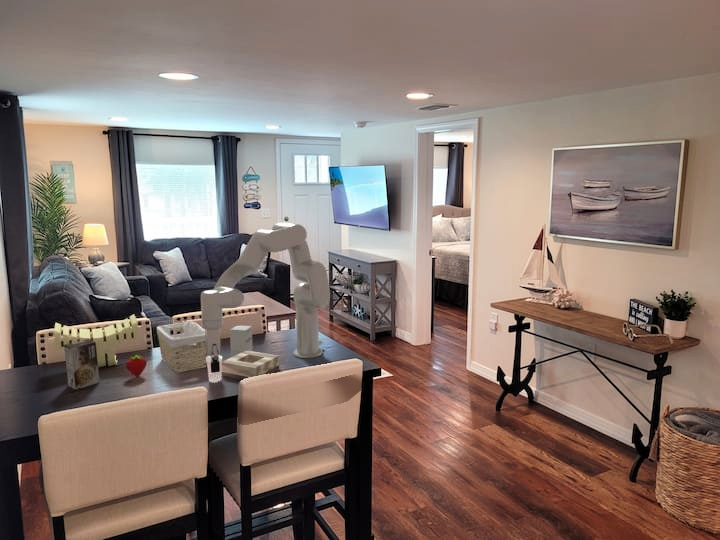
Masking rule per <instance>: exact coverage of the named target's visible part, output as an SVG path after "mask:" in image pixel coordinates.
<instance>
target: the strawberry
mask: <svg viewBox="0 0 720 540" xmlns="http://www.w3.org/2000/svg"><path fill="white" fill-rule="evenodd" d="M147 363H148V362H147V360H146V358H144V356H143V355H138V354H136V355H134V356H131V357H129V358H128V360H127V361H126V363H125V367H126V369H127V370H128V372H129V373H130V374H131V375H133V376H134V377H135V378H138V377H140V376H141V375H142V373H143V372H144V371H145V368H146V367H147Z"/></svg>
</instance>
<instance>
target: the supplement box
mask: <svg viewBox="0 0 720 540" xmlns="http://www.w3.org/2000/svg"><path fill="white" fill-rule="evenodd" d="M229 337H230V339H229V342H230V358H231V357H233V356H236V355H238V354H240V353H242V352H244V351H246V350H247V351H253V348H254V347H253V326H252V325H236V326H233V327H232V328H230V329H229ZM253 352H254V351H253Z"/></svg>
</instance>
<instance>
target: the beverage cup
mask: <svg viewBox="0 0 720 540" xmlns="http://www.w3.org/2000/svg"><path fill="white" fill-rule="evenodd" d="M212 357H214V356H212ZM206 361H207V367H206V368H207V374H208V376H207V377H208V382H210V383H218V381H219V382H221V381H222V362H223V356H222V355H220V354H219V362H220V372H214V373H211V356H208V357H207V358H206ZM220 380H221V381H220Z"/></svg>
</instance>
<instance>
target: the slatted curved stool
mask: <svg viewBox="0 0 720 540" xmlns="http://www.w3.org/2000/svg"><path fill="white" fill-rule="evenodd" d="M62 327H63V328H62ZM62 329H63V331H62ZM103 329H104V334H103ZM53 330H54V333H53V334H54V343H55V351H59V350H61V349H62V348H64V345H65V344H69V343H74V342H78V341H82V340H87V339H90V340H92V341H94V342H96V351H97V361H98V368H104V366H105V367H106V366H108V367H110V366H118V365H119V363H118V364H117V362H118V359H117V360H116V357H117V355H116V352H117V349H118V344H121V343H123V342H125V340H126V341H129V340H132V339H133V340H138V341H140V336H139V335H140V334H139V325H138V320H137V316H135V313H134V314H132V315H130V316H129V319H128V317H127V318H125V319H123V320H122V322H121V321H118V322H117V323H115V324H111V325H108V326H104V328H102V327H99V328H92V329H91V331H90V328H79V338H78V329H77V327H74V326H73V327H71V336H70V326H68V325H63V326H62V324H61V323H58V322H55V324H54V329H53ZM116 331H117V332H116ZM91 332H92V337H91ZM70 337H71V338H70ZM62 338H63V339H62ZM105 343H106V346H105ZM105 347H106V352H105ZM107 361H108V362H107ZM106 362H107V363H106ZM106 364H107V365H106Z"/></svg>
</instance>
